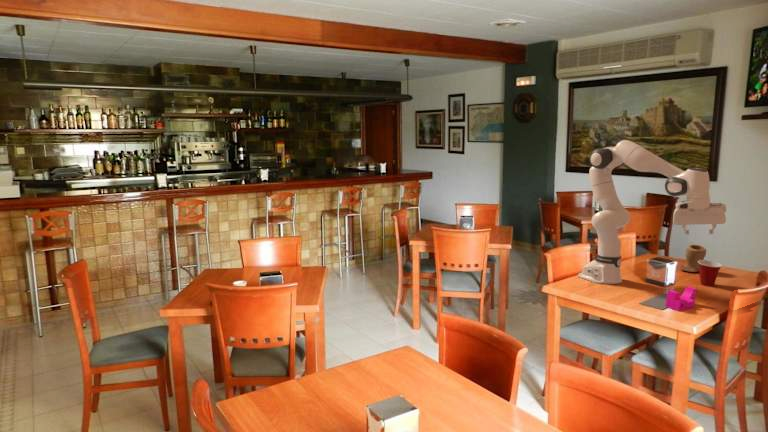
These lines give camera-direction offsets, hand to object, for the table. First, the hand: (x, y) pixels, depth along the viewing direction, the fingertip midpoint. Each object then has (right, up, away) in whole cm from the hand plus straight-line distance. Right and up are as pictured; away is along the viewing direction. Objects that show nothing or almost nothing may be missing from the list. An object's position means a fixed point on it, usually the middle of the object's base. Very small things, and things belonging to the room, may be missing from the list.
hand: (699, 234), depth 227 cm
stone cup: (+35, -24, +61) cm, 74 cm away
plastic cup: (+26, -28, +35) cm, 52 cm away
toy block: (-5, -34, +4) cm, 34 cm away
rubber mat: (-10, -32, +11) cm, 36 cm away
